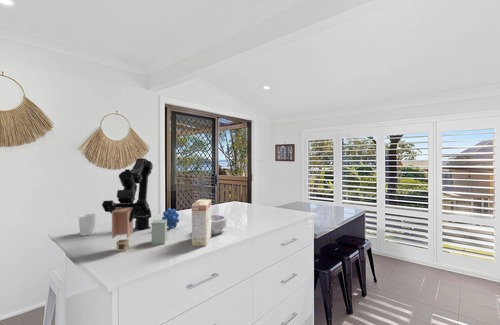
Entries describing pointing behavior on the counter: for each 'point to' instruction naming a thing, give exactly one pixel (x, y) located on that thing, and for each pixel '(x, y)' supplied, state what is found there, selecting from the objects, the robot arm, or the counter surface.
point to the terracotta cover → (121, 222)
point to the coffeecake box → (201, 222)
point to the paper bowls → (217, 223)
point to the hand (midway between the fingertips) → (121, 221)
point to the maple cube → (122, 245)
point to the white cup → (87, 224)
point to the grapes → (171, 217)
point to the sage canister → (159, 231)
